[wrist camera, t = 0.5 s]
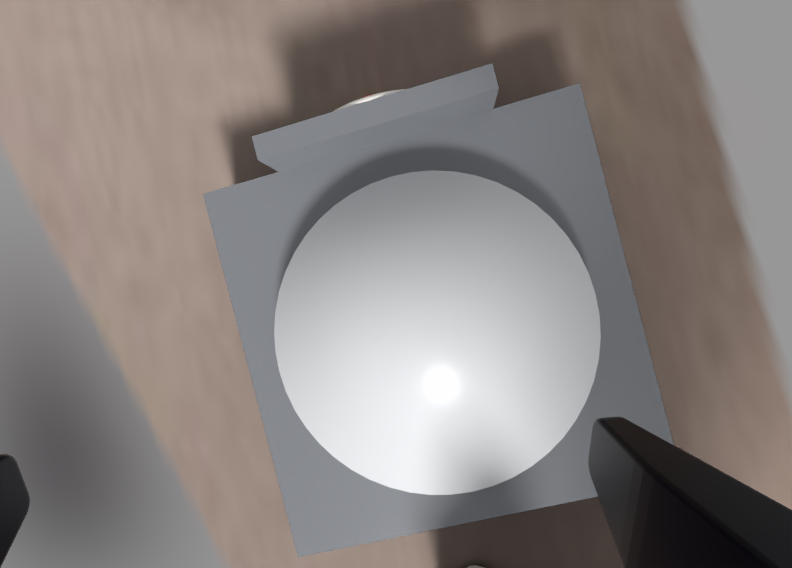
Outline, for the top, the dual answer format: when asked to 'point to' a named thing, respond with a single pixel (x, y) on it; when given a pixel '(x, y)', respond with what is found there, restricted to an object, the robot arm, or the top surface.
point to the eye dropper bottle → (475, 566)
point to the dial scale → (433, 309)
